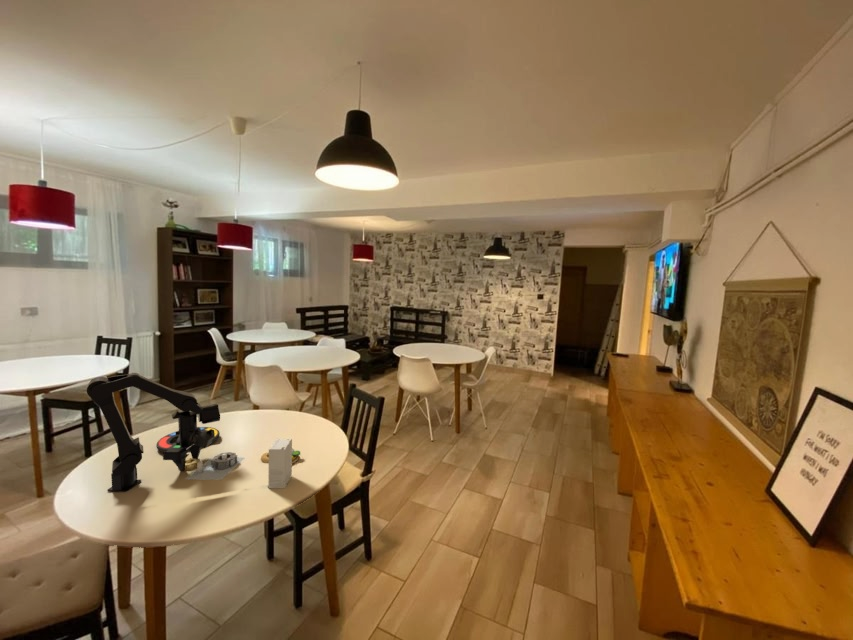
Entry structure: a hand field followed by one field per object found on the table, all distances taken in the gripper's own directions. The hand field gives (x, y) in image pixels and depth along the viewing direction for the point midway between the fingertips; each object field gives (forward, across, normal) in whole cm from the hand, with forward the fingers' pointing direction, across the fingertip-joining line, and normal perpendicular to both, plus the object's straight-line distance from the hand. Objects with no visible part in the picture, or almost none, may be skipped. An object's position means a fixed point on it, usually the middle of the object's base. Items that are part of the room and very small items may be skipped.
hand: (189, 466), depth 129 cm
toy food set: (+2, +8, -32) cm, 33 cm away
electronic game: (+2, +21, +14) cm, 25 cm away
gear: (0, +2, -12) cm, 13 cm away
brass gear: (+1, 0, 0) cm, 1 cm away
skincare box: (+1, -8, -38) cm, 39 cm away
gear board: (+1, -1, -11) cm, 11 cm away
